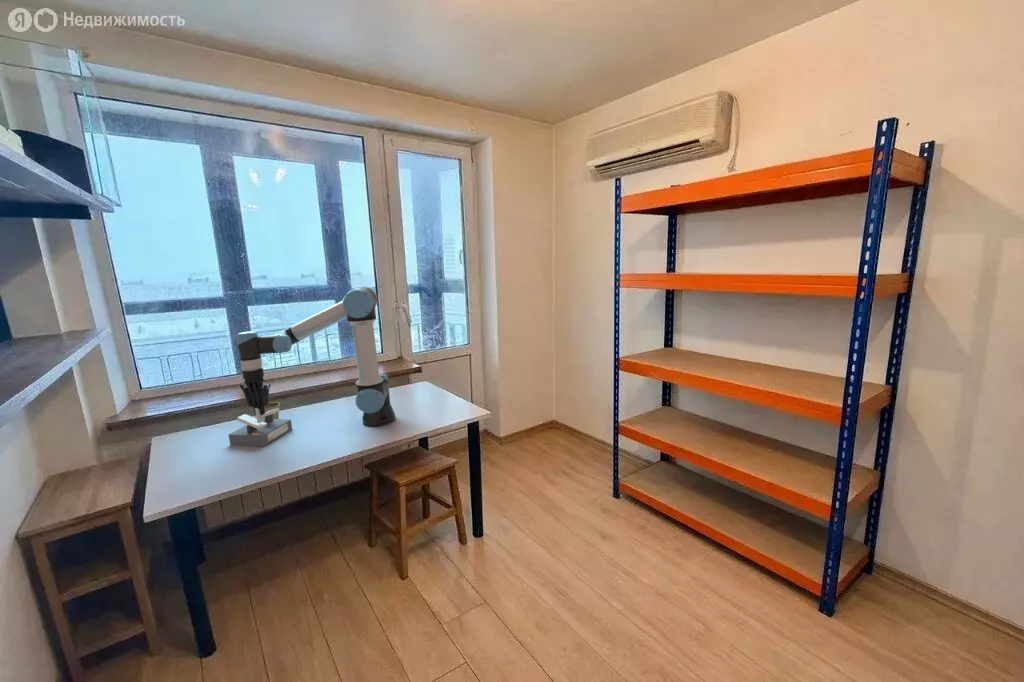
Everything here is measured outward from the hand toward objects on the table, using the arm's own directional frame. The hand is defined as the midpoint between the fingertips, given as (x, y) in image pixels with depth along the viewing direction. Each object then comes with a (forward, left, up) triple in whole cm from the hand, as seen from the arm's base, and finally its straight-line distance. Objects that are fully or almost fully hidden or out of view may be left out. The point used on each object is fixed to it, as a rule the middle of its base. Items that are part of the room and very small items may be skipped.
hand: (261, 421), depth 177 cm
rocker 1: (+5, 0, -1) cm, 5 cm away
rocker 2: (+5, -9, -1) cm, 10 cm away
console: (+5, -4, -10) cm, 12 cm away
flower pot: (+14, -21, -10) cm, 27 cm away
